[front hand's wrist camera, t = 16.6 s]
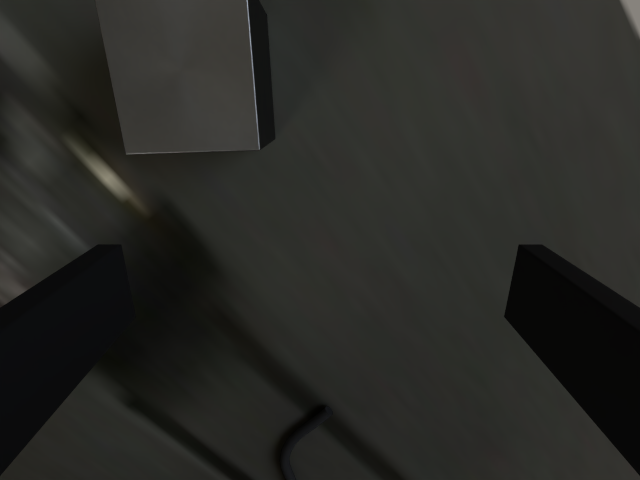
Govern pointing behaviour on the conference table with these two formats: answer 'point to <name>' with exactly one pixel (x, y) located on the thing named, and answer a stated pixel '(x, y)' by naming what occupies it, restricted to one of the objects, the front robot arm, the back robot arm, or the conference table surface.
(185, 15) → the gray cube
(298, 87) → the conference table surface
